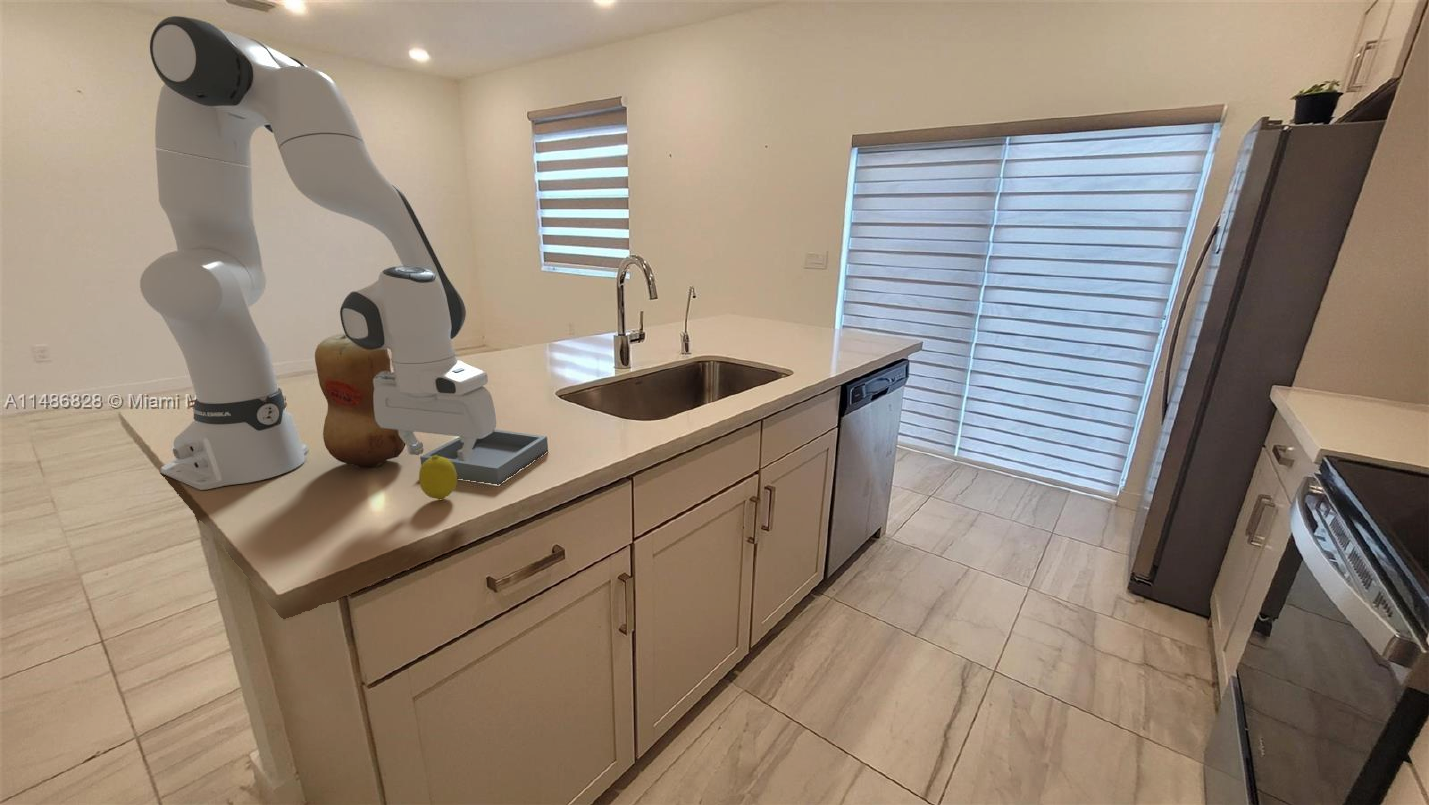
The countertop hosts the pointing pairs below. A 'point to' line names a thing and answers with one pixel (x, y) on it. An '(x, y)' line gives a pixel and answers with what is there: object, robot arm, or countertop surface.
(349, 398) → the butternut squash
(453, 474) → the lemon
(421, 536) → the countertop surface
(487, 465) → the tray
